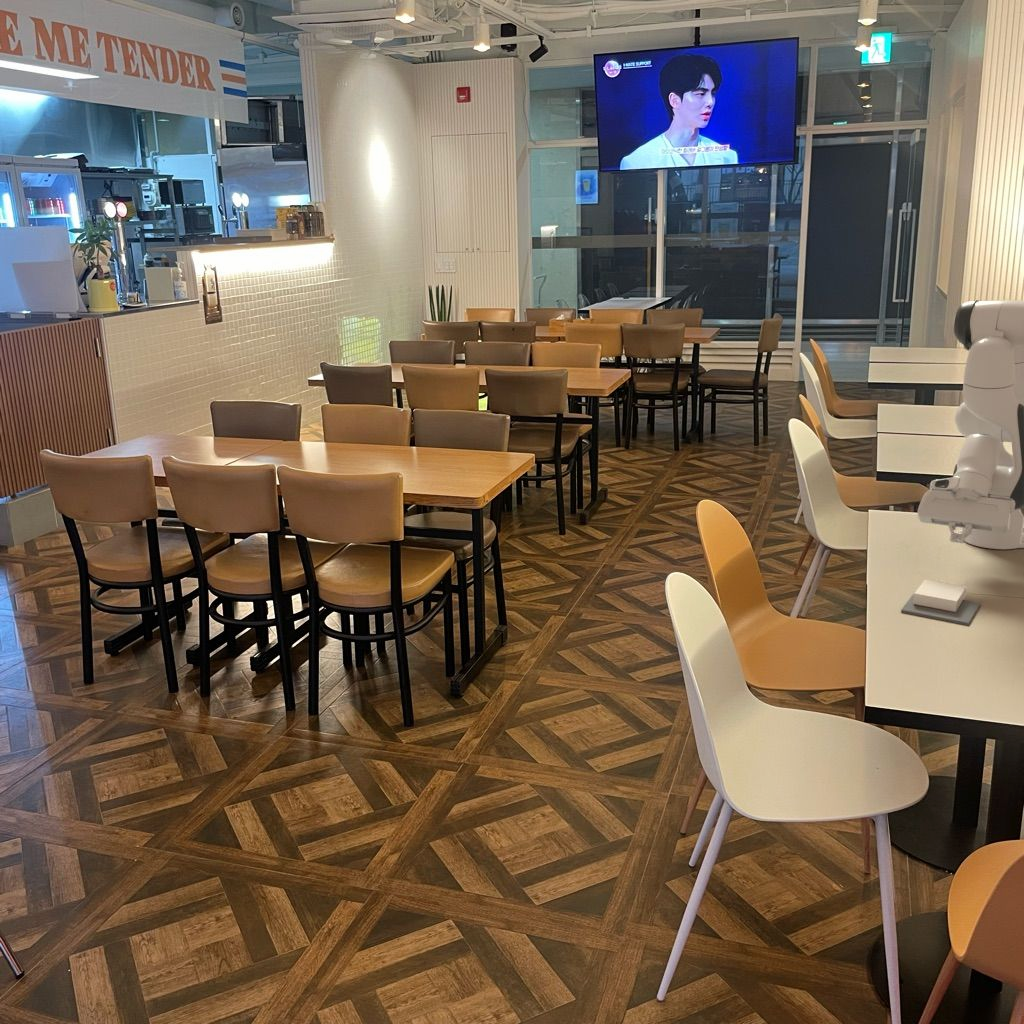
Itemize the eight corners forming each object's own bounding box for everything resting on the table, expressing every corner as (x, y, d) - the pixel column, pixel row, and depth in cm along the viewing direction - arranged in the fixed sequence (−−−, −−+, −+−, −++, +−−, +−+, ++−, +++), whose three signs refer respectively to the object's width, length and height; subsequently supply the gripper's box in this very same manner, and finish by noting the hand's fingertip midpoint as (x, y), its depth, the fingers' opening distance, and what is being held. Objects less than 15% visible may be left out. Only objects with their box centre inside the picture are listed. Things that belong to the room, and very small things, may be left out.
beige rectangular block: (925, 579, 232) (914, 593, 223) (966, 586, 227) (956, 601, 218) (923, 590, 233) (912, 604, 224) (965, 598, 228) (955, 613, 219)
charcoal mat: (915, 593, 232) (915, 590, 232) (980, 605, 225) (980, 602, 225) (900, 612, 221) (901, 609, 221) (968, 625, 214) (968, 622, 214)
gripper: (1017, 504, 235) (1005, 554, 230) (927, 493, 247) (914, 541, 242) (1016, 490, 230) (1003, 541, 226) (924, 480, 242) (910, 528, 237)
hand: (956, 541), depth 234 cm, fingers closed
